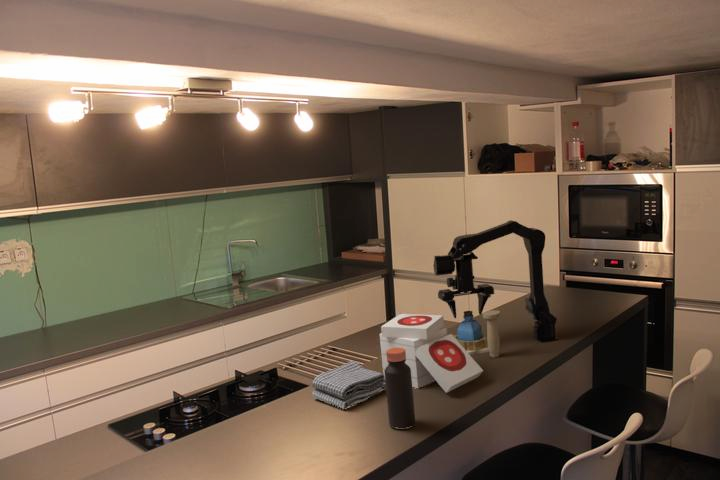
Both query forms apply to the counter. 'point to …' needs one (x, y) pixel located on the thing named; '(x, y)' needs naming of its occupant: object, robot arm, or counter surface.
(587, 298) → the counter surface
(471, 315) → the perfume bottle
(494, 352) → the handle
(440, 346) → the pizza boxes
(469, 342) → the gear board
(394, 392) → the vinegar
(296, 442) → the counter surface
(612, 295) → the counter surface
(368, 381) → the towel
